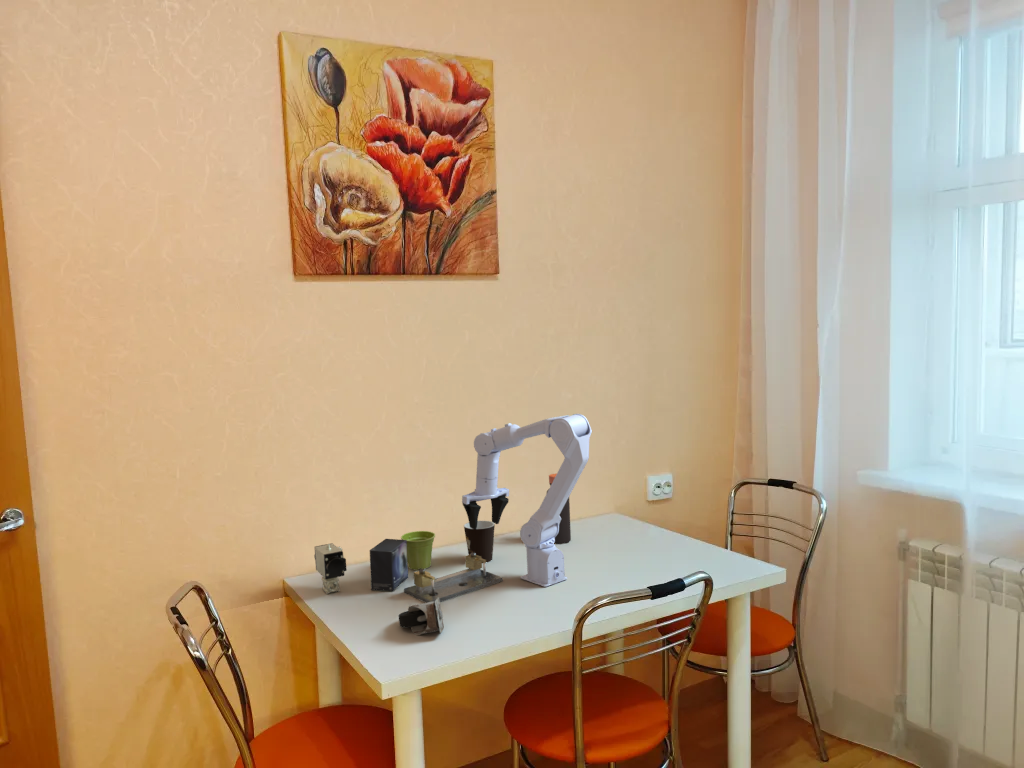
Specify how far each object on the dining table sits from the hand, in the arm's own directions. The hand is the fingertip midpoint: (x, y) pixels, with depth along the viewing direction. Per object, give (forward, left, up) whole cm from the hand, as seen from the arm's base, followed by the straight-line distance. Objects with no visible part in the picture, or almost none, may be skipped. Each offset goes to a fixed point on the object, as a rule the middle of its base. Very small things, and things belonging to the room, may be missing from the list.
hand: (484, 525), depth 199 cm
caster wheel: (-21, +35, -12) cm, 42 cm away
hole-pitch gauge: (-5, +14, -12) cm, 19 cm away
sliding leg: (-5, +6, -10) cm, 13 cm away
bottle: (+3, -31, -12) cm, 33 cm away
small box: (+9, +24, -12) cm, 29 cm away
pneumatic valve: (+16, +37, -12) cm, 42 cm away
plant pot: (+15, +11, -12) cm, 22 cm away
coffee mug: (+8, -5, -12) cm, 15 cm away
